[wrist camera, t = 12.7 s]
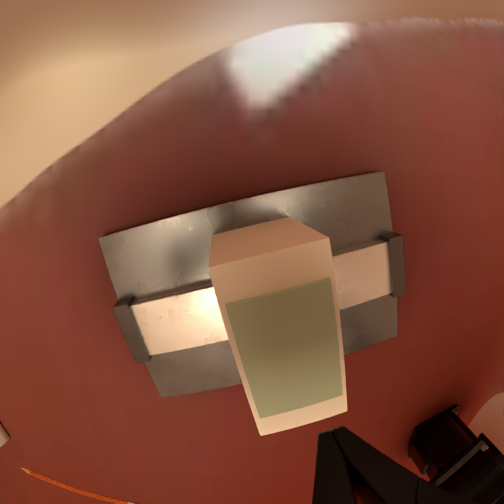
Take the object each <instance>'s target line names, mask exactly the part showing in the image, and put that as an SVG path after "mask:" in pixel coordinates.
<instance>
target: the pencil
mask: <svg viewBox="0 0 504 504" xmlns="http://www.w3.org/2000/svg"><path fill="white" fill-rule="evenodd" d="M22 469H23V470H25V471H26V472H27V473H29V474H30V475H33V476H35V477H37V478H40V479H42V480H44V481H47V482H49V483H52V484H55V485H57V486H60V487H63V488H66V489H68V490H71V491H74V492H77V493H80V494H84V495H87V496H90V497H94V498H97V499H101V500H105V501H109V502H113V503H117V504H136V503H131V502H126V501H122V500H117V499H113V498H109V497H105V496H101V495H98V494H94V493H90V492H87V491H84V490H80V489H77V488H74V487H71V486H68V485H65V484H62V483H60V482H57V481H54V480H52V479H49V478H46V477H44V476H42V475H39V474H37V473H34V472H32V471H30V470H27V469H24V468H22Z"/></svg>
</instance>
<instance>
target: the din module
mask: <svg viewBox="0 0 504 504" xmlns="http://www.w3.org/2000/svg"><path fill="white" fill-rule="evenodd" d="M208 270H209V273H210V277H211V280H212V284H213V288H214V291H215V295H216V298H217V302H218V305H219V308H220V312H221V315H222V319H223V322H224V325H225V329H226V332H227V335H228V339H229V342H230V345H231V348H232V352H233V355H234V358H235V361H236V364H237V367H238V371H239V374H240V377H241V380H242V383H243V386H244V389H245V392H246V395H247V398H248V401H249V404H250V407H251V410H252V413H253V416H254V419H255V422H256V425H257V427H258V430H259V433H260V436H262V435H266V434H271V433H275V432H279V431H283V430H287V429H291V428H294V427H298V426H302V425H305V424H309V423H312V422H315V421H319V420H322V419H325V418H328V417H331V416H334V415H337V414H340V413H343V412H346V411H347V395H346V379H345V365H344V353H343V342H342V331H341V322H340V313H339V304H338V296H337V288H336V280H335V273H334V266H333V259H332V252H331V246H330V240H329V237H327V236H325V235H323V234H321V233H319V232H318V231H316V230H314V229H312V228H310V227H308V226H306V225H304V224H302V223H300V222H298V221H297V220H295V219H293V218H291V217H286V218H281V219H277V220H273V221H268V222H264V223H260V224H256V225H252V226H247V227H243V228H239V229H235V230H231V231H227V232H223V233H219V234H214V235H212V240H211V248H210V255H209V263H208Z"/></svg>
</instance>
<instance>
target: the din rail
mask: <svg viewBox="0 0 504 504" xmlns="http://www.w3.org/2000/svg"><path fill="white" fill-rule="evenodd" d="M286 217H291V218H293V219H295V220H297V221H298V222H300V223H302V224H304V225H306V226H308V227H310V228H312V229H314V230H316V231H318V232H319V233H321V234H323V235H325V236H327V237H329V240H330V246H331V252H332V259H333V266H334V273H335V280H336V288H337V296H338V304H339V313H340V322H341V331H342V342H343V353H344V355H346V354H349V353H352V352H354V351H357V350H360V349H363V348H366V347H368V346H371V345H374V344H377V343H379V342H382V341H384V340H387V339H390V338H392V337H395V336H397V333H398V315H397V297H398V296H401V295H403V294H406V284H405V262H404V247H403V235H400V234H397V233H394V232H393V230H392V221H391V213H390V205H389V198H388V191H387V185H386V179H385V173H384V171H376V172H370V173H365V174H359V175H353V176H348V177H342V178H337V179H332V180H326V181H321V182H316V183H311V184H306V185H301V186H297V187H292V188H287V189H282V190H278V191H273V192H269V193H264V194H260V195H255V196H251V197H246V198H242V199H238V200H234V201H229V202H225V203H221V204H217V205H213V206H209V207H205V208H201V209H197V210H193V211H189V212H186V213H182V214H178V215H174V216H170V217H167V218H163V219H159V220H156V221H152V222H149V223H145V224H141V225H138V226H134V227H131V228H128V229H124V230H121V231H117V232H114V233H111V234H107V235H104V236H102V237H100V238H98V239H99V243H100V246H101V249H102V253H103V256H104V259H105V262H106V265H107V268H108V271H109V274H110V277H111V280H112V283H113V286H114V289H115V292H116V294H117V297H118V301H117V302H116V304H115V305H114V306H113V310H114V312H115V315H116V317H117V320H118V322H119V325H120V327H121V330H122V332H123V334H124V337H125V339H126V341H127V344H128V346H129V348H130V350H131V353H132V355H133V357H134V359H135V361H136V363H142V362H144V363H145V365H146V367H147V369H148V371H149V373H150V375H151V377H152V380H153V382H154V384H155V386H156V388H157V390H158V392H159V394H160V396H161V398H163V397H170V396H177V395H183V394H190V393H196V392H201V391H207V390H212V389H217V388H222V387H227V386H232V385H237V384H241V383H242V380H241V377H240V374H239V371H238V367H237V364H236V361H235V358H234V355H233V352H232V348H231V345H230V342H229V339H228V335H227V332H226V329H225V325H224V322H223V319H222V315H221V312H220V308H219V305H218V302H217V298H216V295H215V291H214V288H213V284H212V280H211V277H210V273H209V270H208V263H209V255H210V248H211V240H212V235H214V234H219V233H223V232H227V231H231V230H235V229H239V228H243V227H247V226H252V225H256V224H260V223H264V222H268V221H273V220H277V219H281V218H286Z"/></svg>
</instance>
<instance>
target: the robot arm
mask: <svg viewBox="0 0 504 504" xmlns="http://www.w3.org/2000/svg"><path fill="white" fill-rule="evenodd" d="M459 408H460V407H459V406H458V405H455V406H454V407H452V408H450V409H449V410H447V411H445V412H443V413H442V414H440V415H438V416H436V417H435V418H433V419H431V420H429V421H427V422H425V423H423V424H421V425H420V426H418V427H416V428H415V430H414V434H413V438H412V443H411V447H410V451H409V454H408V457H409V458H410V459H411V458H412V460H413V461H414V463H415V464H416V466H417V467H418V469H419V471H420V472H421V474H422V475H425V474H427V475H428V477H429V478H430V481H429V482H427V481H426V480H424V479H422V478H419V477H418V476H417V475H416V474H414V473H412V472H411V471H409V470H408V469H406V468H404V467H403V466H401V465H400V464H398V463H397V462H395V461H394V460H392V459H391V458H389V457H388V456H386V455H385V454H383V453H382V452H380V451H379V450H377V449H376V448H374V447H373V446H371V445H370V444H368V443H367V442H366V441H364V440H363V439H361V438H360V437H358V436H357V435H356V434H354V433H353V432H351V431H350V430H349V429H347V428H346V427H344V426H340V427H337V428H334V429H332V430H331V431H330V430H328V431H325V432H322V433H319V434H318V442H317V456H316V468H315V479H314V489H313V499H312V504H504V455H503V454H502V453H501V452H500V451H499V450H498V449H497V448H496V447H495V445H494V444H493V443H492V442H491V441H490V440H489V439H488V438H487V437H486V436H485V435H484V434H483V433H481V434H480V435H479V437H478V438H477V437H476V436H475V435H474V434H473V432H472V431H471V430H470V429H469V428H468V427H467V426H466V425H465V424H464V422H463V421H462V420H461V419H460V418H459V417H458V416H457V415H458V412H459ZM487 447H488V448H489V449H487V450H485V449H486V448H487ZM484 450H485V451H484ZM483 451H484V452H483Z"/></svg>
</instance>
